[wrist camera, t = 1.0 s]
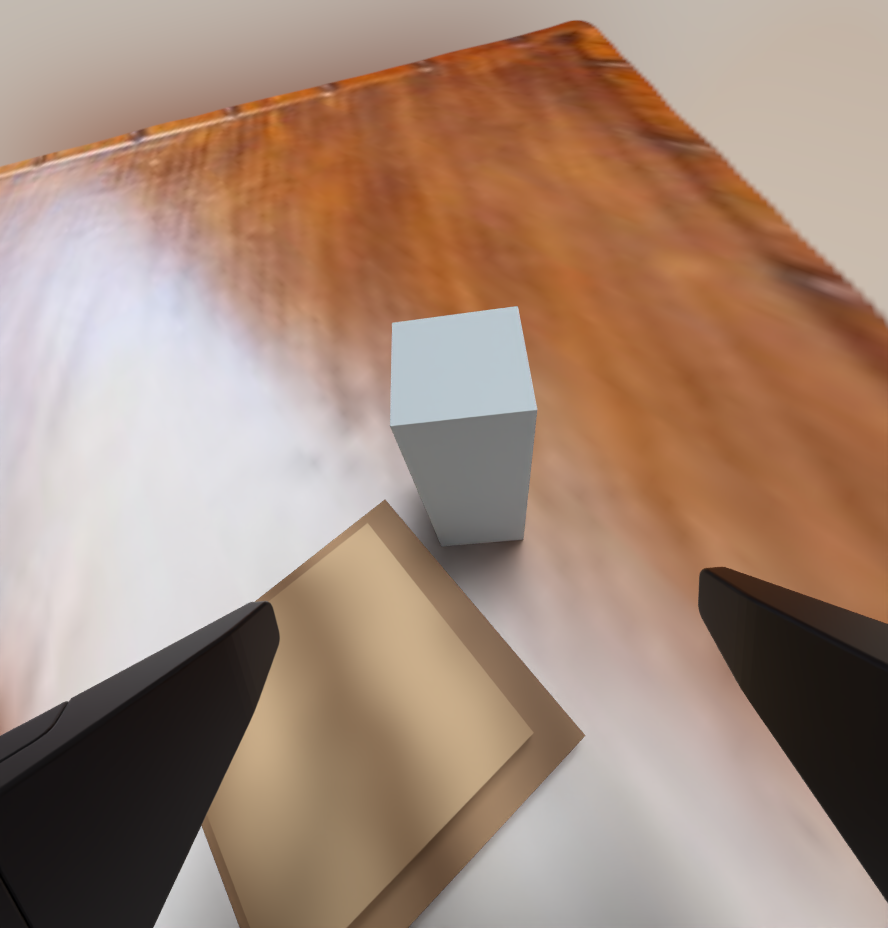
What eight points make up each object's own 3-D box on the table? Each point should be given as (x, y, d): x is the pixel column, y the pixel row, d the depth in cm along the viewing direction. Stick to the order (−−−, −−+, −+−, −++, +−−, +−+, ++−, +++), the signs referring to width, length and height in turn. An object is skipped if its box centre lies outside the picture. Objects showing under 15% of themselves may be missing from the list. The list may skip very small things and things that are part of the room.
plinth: (312, 1017, 16) (256, 1109, 12) (177, 685, 22) (115, 683, 18) (578, 732, 19) (594, 739, 15) (393, 513, 25) (375, 483, 21)
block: (523, 539, 23) (537, 409, 13) (441, 546, 24) (390, 426, 13) (512, 467, 25) (517, 306, 15) (438, 474, 26) (392, 322, 15)
